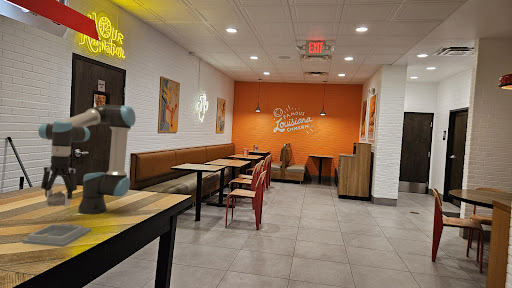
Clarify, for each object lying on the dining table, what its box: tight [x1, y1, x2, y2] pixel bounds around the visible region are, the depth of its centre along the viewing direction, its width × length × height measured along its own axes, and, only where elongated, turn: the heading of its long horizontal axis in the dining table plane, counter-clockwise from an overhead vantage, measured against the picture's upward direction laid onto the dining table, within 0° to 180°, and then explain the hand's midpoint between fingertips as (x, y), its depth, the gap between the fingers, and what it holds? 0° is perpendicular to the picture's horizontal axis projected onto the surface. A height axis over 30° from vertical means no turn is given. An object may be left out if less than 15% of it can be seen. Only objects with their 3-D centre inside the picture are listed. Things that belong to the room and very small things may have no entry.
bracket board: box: [22, 222, 92, 248], centre depth 149 cm, size 22×18×4 cm
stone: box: [46, 190, 65, 207], centre depth 147 cm, size 8×10×6 cm
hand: (58, 205), depth 146 cm, fingers closed on stone, 8 cm apart
